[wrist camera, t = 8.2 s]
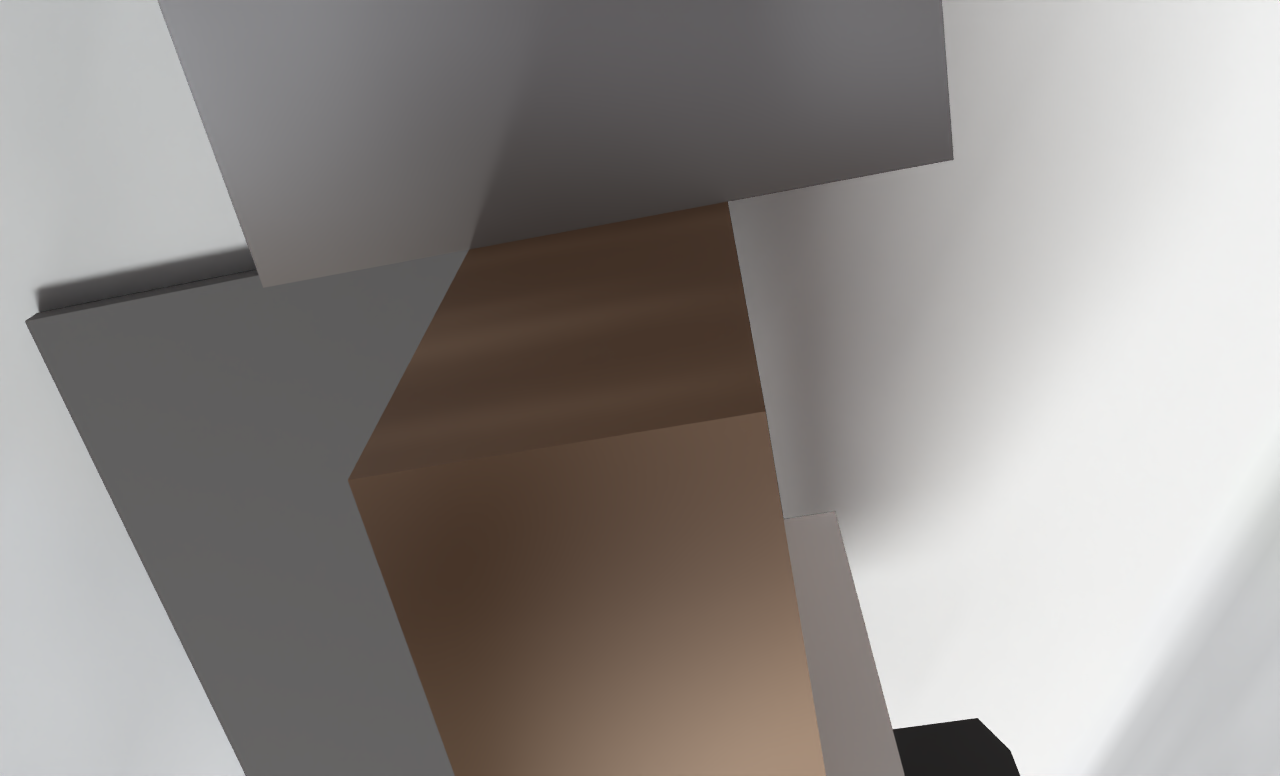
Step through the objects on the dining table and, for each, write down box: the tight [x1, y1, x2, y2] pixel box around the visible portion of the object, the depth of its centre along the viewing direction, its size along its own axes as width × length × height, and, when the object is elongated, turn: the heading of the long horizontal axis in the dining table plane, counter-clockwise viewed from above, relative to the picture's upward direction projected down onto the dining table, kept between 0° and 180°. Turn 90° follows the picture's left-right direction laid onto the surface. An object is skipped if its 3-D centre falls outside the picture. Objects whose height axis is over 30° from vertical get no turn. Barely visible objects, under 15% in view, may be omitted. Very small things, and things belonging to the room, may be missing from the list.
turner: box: [158, 0, 954, 776], centre depth 11 cm, size 24×8×6 cm, turn 11°
